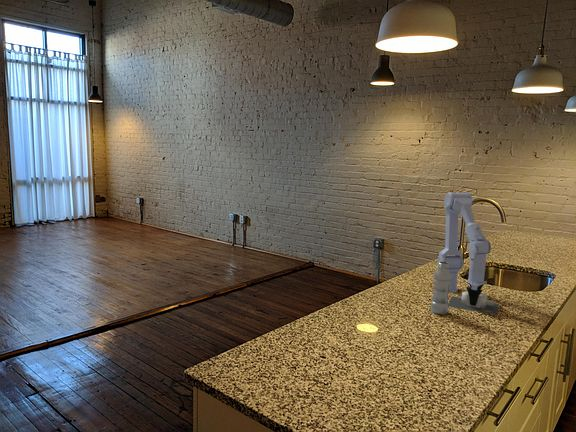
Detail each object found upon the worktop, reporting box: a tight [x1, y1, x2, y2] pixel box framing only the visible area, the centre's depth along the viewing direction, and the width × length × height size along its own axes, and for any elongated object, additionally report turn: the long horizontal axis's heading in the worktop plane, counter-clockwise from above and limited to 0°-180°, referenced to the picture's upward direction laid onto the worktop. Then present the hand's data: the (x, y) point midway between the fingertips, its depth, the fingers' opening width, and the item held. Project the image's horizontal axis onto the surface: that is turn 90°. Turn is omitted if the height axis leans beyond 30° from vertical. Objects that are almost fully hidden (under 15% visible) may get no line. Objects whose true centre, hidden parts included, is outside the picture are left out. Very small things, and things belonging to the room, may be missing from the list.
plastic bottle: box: [429, 262, 452, 315], centre depth 168 cm, size 6×7×20 cm
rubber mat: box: [448, 295, 499, 316], centre depth 179 cm, size 18×14×1 cm
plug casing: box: [460, 290, 494, 308], centre depth 178 cm, size 12×4×4 cm, turn 63°
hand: (473, 302), depth 179 cm, fingers open, 7 cm apart
